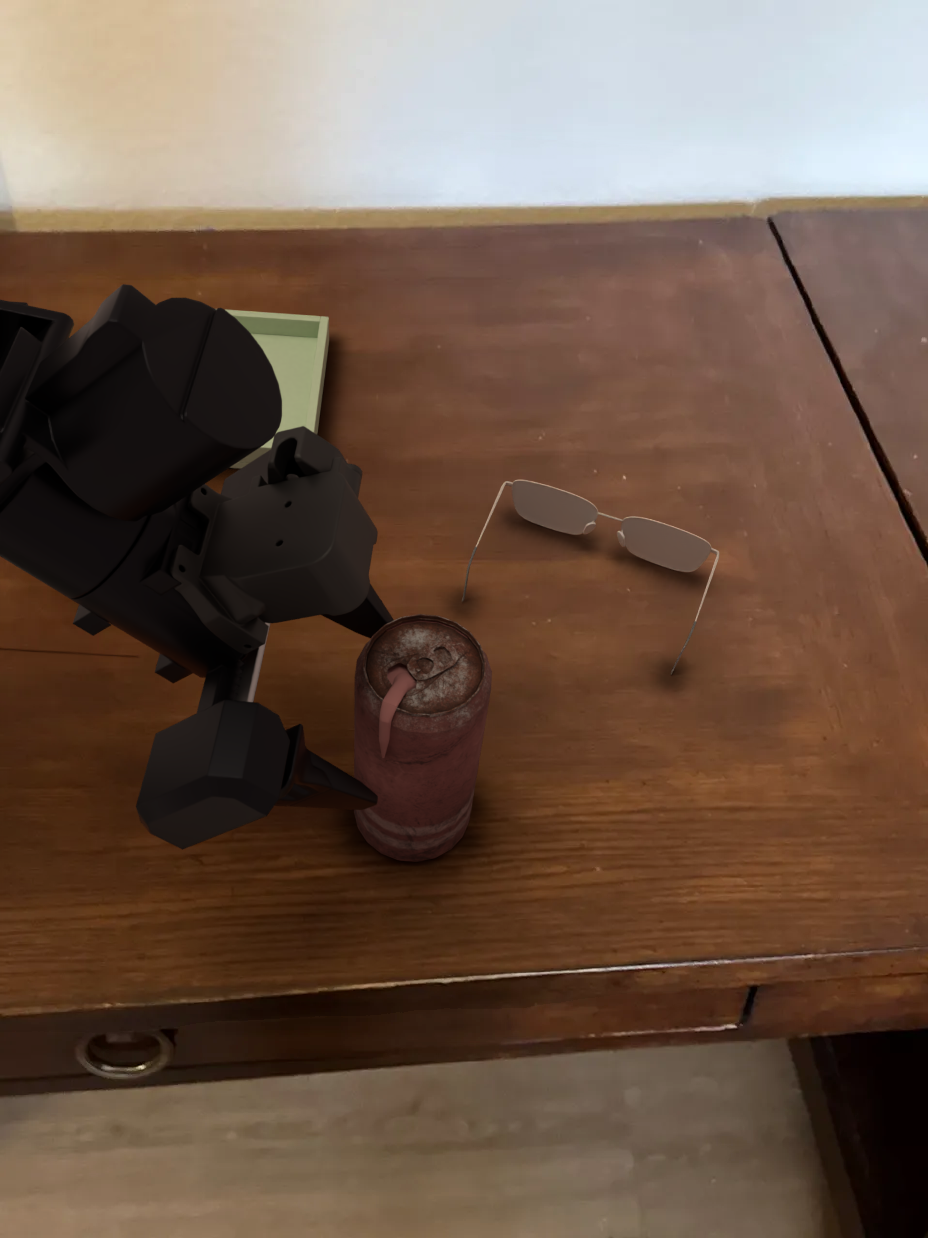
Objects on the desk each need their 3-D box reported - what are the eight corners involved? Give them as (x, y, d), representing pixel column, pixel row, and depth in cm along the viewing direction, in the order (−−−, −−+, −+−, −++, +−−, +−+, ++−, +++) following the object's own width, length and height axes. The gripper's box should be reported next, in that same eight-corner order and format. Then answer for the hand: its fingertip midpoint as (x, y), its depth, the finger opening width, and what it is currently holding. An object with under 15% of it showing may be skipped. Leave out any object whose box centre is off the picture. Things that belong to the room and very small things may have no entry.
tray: (106, 460, 78) (101, 436, 76) (142, 326, 86) (138, 302, 84) (312, 473, 79) (311, 450, 77) (329, 339, 87) (329, 316, 85)
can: (332, 844, 63) (328, 694, 52) (383, 748, 66) (389, 588, 55) (440, 888, 62) (460, 745, 51) (486, 788, 65) (513, 634, 54)
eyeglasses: (710, 580, 76) (724, 541, 72) (675, 683, 71) (689, 647, 68) (500, 510, 78) (505, 470, 74) (455, 606, 74) (457, 568, 70)
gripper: (186, 660, 38) (505, 856, 46) (285, 285, 49) (526, 500, 58) (-7, 764, 44) (307, 919, 53) (121, 409, 55) (361, 586, 64)
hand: (383, 716), depth 57 cm, fingers open, 9 cm apart
